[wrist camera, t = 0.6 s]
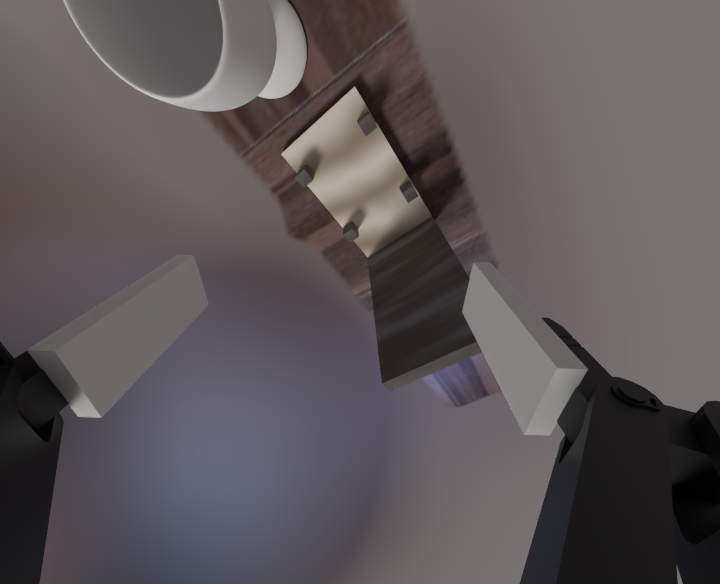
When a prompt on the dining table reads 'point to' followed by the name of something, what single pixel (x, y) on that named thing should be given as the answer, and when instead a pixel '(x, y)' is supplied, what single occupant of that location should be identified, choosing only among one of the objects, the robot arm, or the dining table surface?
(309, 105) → the dining table surface
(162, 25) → the wineglass
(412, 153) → the dining table surface
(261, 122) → the dining table surface
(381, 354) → the pegged display stand
